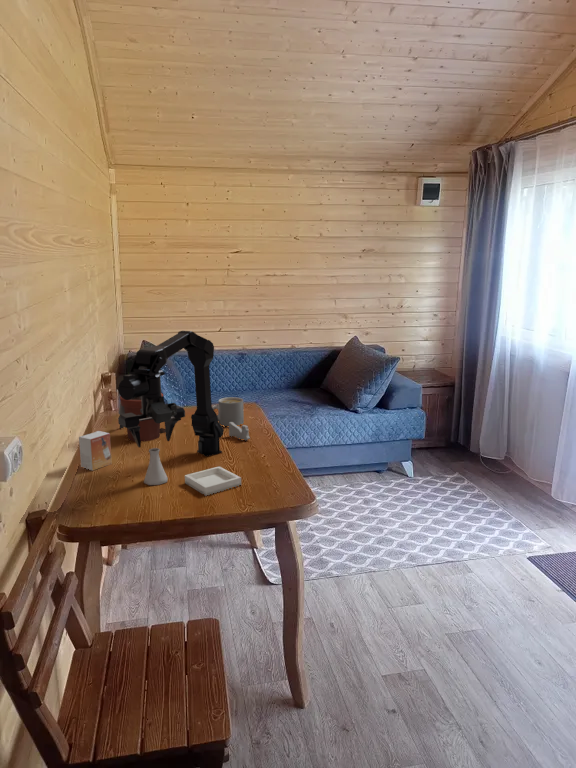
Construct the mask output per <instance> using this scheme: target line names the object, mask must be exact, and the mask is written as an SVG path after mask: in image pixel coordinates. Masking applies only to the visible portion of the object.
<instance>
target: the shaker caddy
mask: <svg viewBox="0 0 576 768" xmlns="http://www.w3.org/2000/svg"><path fill="white" fill-rule="evenodd" d="M184 483H185V484H186V485H187V486H189V487H190V488H192V489H194V490H195V491H197V492H198V493H200V494H202V495H203V494H204V496H205V497H207V495H208V496H210V494H211V495H214V494H217V492H218V493H221V492H224V490H225V491H227V490H226V489H228V490H230V489H229V488H231V489H233V488H232V487H235V488H237V487H236V486H238V487H240V486H239V485H241V486H242V477H241V476H239V475H237V474H235V473H233V472H231V471H229V470H227V469H225V468H223V467H222V466H220V465H219V466H216V467H211V468H207V469H205V470H200V471H196V472H193V473H192V472H191V473H188V474H185V475H184ZM220 491H221V492H220ZM213 493H214V494H213Z"/></svg>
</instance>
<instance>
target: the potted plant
mask: <svg viewBox="0 0 576 768" xmlns="http://www.w3.org/2000/svg"><path fill="white" fill-rule="evenodd" d="M127 373H128V374H127V375H130V374H129V372H127ZM161 396H163V397H164V394H163V393H162V392H161ZM140 409H142V401H141V399H140V397H137V398H134V399H131V400H125V399H123V398H122V397H121V396H120V395H119V407H118V412H117V413H118V415H119V416H120V414H126V413H133V414H135V415H141V414H142V413H141V412H140ZM146 417H147V416H146ZM138 426H140V430H139V432H140V440H141V441H143V442H150V441H155V440H157V439H159V438H160V435H161V434H164V433H165V434H166V432H165V427H164V428H163V427H161V423H155V422H154V420H153V419H150V420H144V421H139V424H138ZM120 428H123V429H124V428H125V427H124V426H122V425H120V424H119V429H120ZM126 430H127V431H126V433H127V439H128V438H129V439H130V440H129V439H128V440H129V441H131V440H132V442H135V440H134V438H133V436H132V434H131V432H130V431H129V429H128V428H126Z"/></svg>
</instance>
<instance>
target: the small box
mask: <svg viewBox="0 0 576 768" xmlns="http://www.w3.org/2000/svg"><path fill="white" fill-rule="evenodd" d="M78 441H79V443H78V444H79V455H80V457H79V458H80V468H81V467H84V468H86V469H85V470H88V469H89V471H95V470H97V469H101V468H103V467H107V466H109V465H112V463H113V462H112V461H113V460H112V449H111V445H112V444H111V434H110V433H109V432H105V431H101V430H96V431H94V432H91V433H87V434H84V435H81V436H79V437H78ZM84 468H83V469H84Z"/></svg>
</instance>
